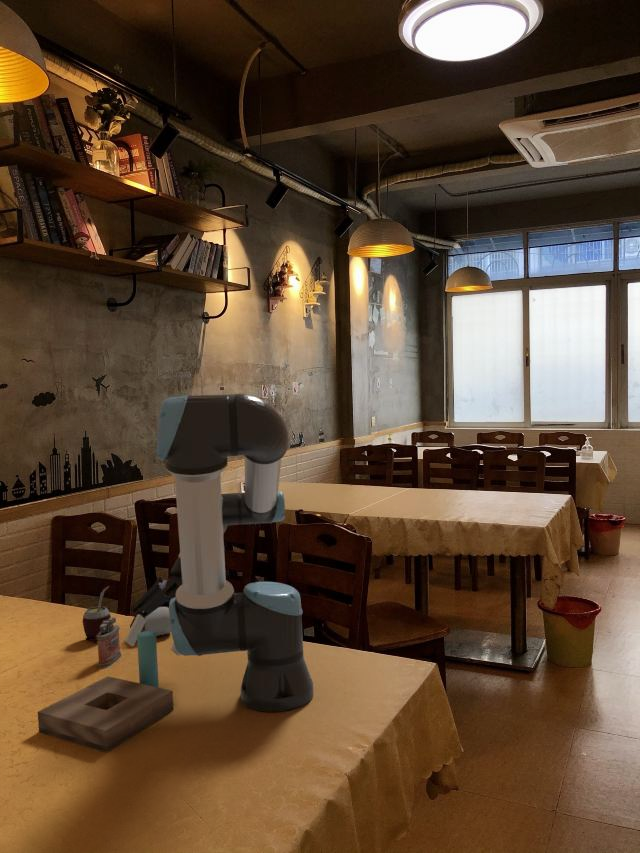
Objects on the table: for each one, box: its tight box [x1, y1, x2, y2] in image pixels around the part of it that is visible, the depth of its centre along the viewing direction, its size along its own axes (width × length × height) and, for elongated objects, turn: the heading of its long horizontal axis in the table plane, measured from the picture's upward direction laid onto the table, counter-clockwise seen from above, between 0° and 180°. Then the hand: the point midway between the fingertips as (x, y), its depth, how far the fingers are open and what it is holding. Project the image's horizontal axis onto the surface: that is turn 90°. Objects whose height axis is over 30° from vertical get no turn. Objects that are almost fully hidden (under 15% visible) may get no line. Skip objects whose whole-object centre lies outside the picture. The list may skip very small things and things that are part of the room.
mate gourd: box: [82, 585, 112, 644], centre depth 183 cm, size 8×8×15 cm
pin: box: [136, 631, 160, 688], centre depth 151 cm, size 4×4×12 cm
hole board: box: [37, 675, 175, 753], centre depth 137 cm, size 18×18×4 cm
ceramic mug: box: [140, 606, 171, 637], centre depth 186 cm, size 11×8×8 cm
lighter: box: [97, 616, 122, 669], centre depth 168 cm, size 8×3×10 cm, turn 168°
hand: (151, 648), depth 154 cm, fingers open, 13 cm apart
